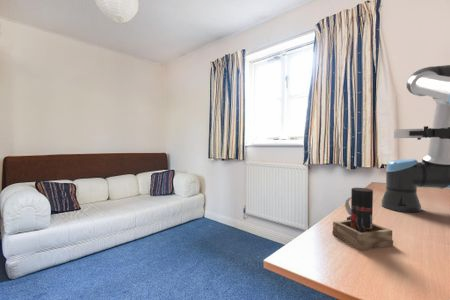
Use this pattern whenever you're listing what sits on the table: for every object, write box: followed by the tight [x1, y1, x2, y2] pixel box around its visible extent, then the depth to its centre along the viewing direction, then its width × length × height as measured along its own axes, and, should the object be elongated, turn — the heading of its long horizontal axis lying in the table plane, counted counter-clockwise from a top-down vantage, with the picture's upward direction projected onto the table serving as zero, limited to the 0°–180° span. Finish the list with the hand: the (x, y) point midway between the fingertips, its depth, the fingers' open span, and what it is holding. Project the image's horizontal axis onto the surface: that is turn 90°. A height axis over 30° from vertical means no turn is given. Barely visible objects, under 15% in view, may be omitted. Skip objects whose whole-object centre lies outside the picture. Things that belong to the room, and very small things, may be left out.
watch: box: [344, 197, 351, 220], centre depth 86 cm, size 6×8×11 cm
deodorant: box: [350, 187, 374, 233], centre depth 74 cm, size 6×6×15 cm
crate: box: [331, 219, 394, 251], centre depth 74 cm, size 12×12×4 cm
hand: (394, 134), depth 77 cm, fingers open, 13 cm apart
